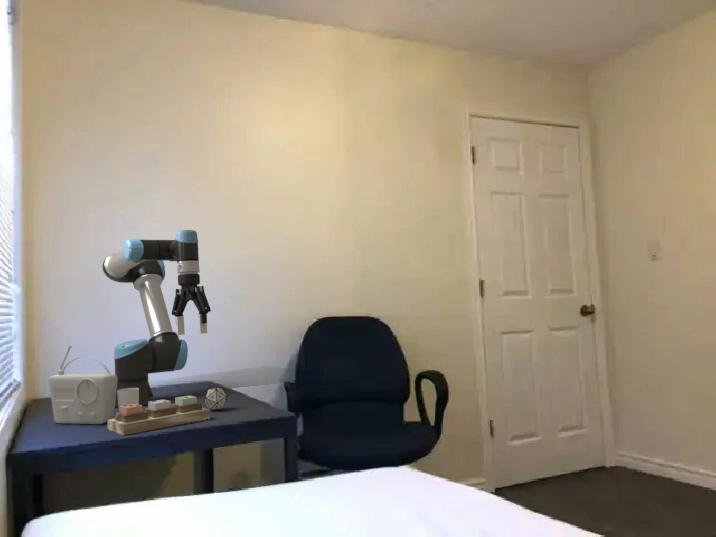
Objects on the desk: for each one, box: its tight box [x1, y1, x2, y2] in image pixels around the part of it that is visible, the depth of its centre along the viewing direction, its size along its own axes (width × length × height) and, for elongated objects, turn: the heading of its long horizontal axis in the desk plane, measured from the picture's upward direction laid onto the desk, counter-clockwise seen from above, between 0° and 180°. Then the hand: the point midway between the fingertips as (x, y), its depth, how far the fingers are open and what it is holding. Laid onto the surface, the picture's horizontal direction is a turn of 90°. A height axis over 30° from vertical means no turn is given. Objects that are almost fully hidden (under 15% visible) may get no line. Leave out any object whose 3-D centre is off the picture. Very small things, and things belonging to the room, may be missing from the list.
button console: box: [106, 401, 211, 436], centre depth 203 cm, size 12×28×5 cm, turn 132°
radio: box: [48, 344, 117, 425], centre depth 211 cm, size 22×8×25 cm, turn 75°
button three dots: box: [120, 404, 144, 415], centre depth 197 cm, size 5×5×3 cm
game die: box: [201, 385, 229, 411], centre depth 223 cm, size 9×8×10 cm
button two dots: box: [147, 399, 172, 410], centre depth 203 cm, size 5×5×3 cm
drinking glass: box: [117, 388, 139, 413], centre depth 211 cm, size 7×7×10 cm
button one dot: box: [174, 395, 198, 406], centre depth 209 cm, size 5×5×3 cm
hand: (191, 334), depth 230 cm, fingers open, 13 cm apart
